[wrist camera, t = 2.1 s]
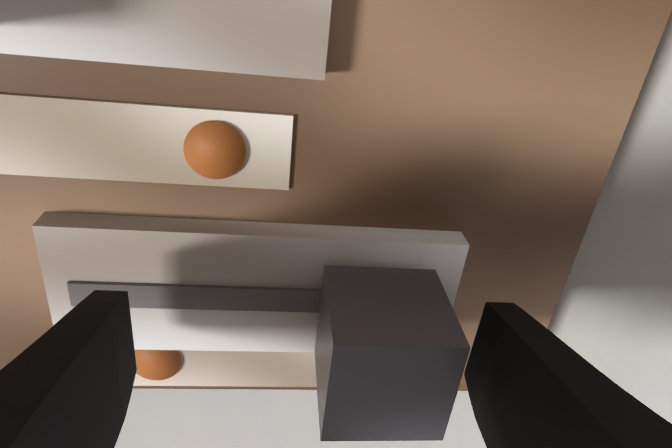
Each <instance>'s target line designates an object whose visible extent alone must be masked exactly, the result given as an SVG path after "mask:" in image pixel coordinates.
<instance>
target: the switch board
mask: <svg viewBox="0 0 672 448" xmlns="http://www.w3.org/2000/svg"><path fill="white" fill-rule="evenodd" d="M671 11H672V0H0V370H1V369H2V368H3V367H5V366H6V365H7V364H8V363H10V362H11V361H12V360H13V359H14V358H16V357H17V356H18V355H19V354H20V353H22V352H23V351H24V350H25V349H26V348H28V347H29V346H30V345H31V344H32V343H33V342H35V341H36V340H37V339H38V338H39V337H41V336H42V335H43V334H44V333H45V332H46V331H48V330H49V329H50V328H51V327H52V326H53V325H54V324H56V323H57V322H58V321H59V320H60V319H61V318H62V317H64V316H65V315H66V314H67V313H68V312H69V311H70V310H72V309H73V308H74V307H75V306H76V305H77V304H79V303H80V302H81V301H82V300H83V299H85V298H86V297H87V296H88V295H89V294H91V293H92V292H93V291H94V290H110V291H128V297H129V306H130V315H131V323H132V332H133V341H134V349H135V358H136V367H137V371H136V375H135V380H134V384H133V388H160V389H302V390H317V381H316V367H315V353H314V351H315V342H316V333H317V324H318V315H319V305H320V296H321V287H322V278H323V269H324V265H331V266H358V267H384V268H411V269H435V270H436V272H437V274H438V276H439V279H440V281H441V283H442V285H443V288H444V290H445V292H446V294H447V296H448V299H449V301H450V303H451V305H452V308H453V310H454V312H455V314H456V316H457V319H458V321H459V323H460V325H461V327H462V330H463V332H464V334H465V336H466V339H467V341H468V343H469V345H470V347H471V348H472V345H473V342H474V339H475V335H476V332H477V329H478V326H479V322H480V319H481V316H482V313H483V309H484V306H485V303H486V302H509V303H515V304H516V305H517V306H519V307H520V308H522V309H523V310H524V311H526V312H527V313H528V314H529V315H531V316H532V317H533V318H535V319H536V320H537V321H538V322H539V323H541V324H542V325H543V326H544V327H546V328H548V326H549V323H550V321H551V318H552V315H553V313H554V310H555V308H556V305H557V303H558V300H559V297H560V295H561V292H562V290H563V287H564V285H565V282H566V280H567V277H568V274H569V272H570V269H571V267H572V264H573V262H574V259H575V257H576V254H577V251H578V249H579V246H580V244H581V241H582V239H583V236H584V234H585V231H586V228H587V226H588V223H589V221H590V218H591V216H592V213H593V211H594V208H595V205H596V203H597V200H598V198H599V195H600V193H601V190H602V188H603V185H604V182H605V180H606V177H607V175H608V172H609V170H610V167H611V165H612V162H613V159H614V157H615V154H616V152H617V149H618V147H619V144H620V141H621V139H622V136H623V134H624V131H625V129H626V126H627V124H628V121H629V118H630V116H631V113H632V111H633V108H634V106H635V103H636V101H637V98H638V95H639V93H640V90H641V88H642V85H643V83H644V80H645V78H646V75H647V72H648V70H649V67H650V65H651V62H652V60H653V57H654V55H655V52H656V49H657V47H658V44H659V42H660V39H661V37H662V34H663V32H664V29H665V26H666V24H667V21H668V19H669V16H670V14H671ZM470 352H471V349H470ZM470 352H469V355H470ZM469 355H468V358H469ZM468 358H467V361H468ZM466 365H467V362H466ZM466 365H465V368H466ZM465 368H464V371H465ZM458 391H468V388H467V384H466V380H465V376H464V372H463V375H462V378H461V381H460V385H459V388H458Z"/></svg>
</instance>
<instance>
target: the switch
mask: <svg viewBox="0 0 672 448" xmlns="http://www.w3.org/2000/svg"><path fill="white" fill-rule="evenodd" d="M470 349H471V347H470V345H469V343H468V341H467V339H466V336H465V334H464V332H463V330H462V327H461V325H460V323H459V321H458V319H457V316H456V314H455V312H454V310H453V308H452V305H451V303H450V301H449V299H448V296H447V294H446V292H445V290H444V288H443V285H442V283H441V281H440V279H439V276H438V274H437V272H436V270H435V269H411V268H384V267H358V266H331V265H324V269H323V278H322V287H321V296H320V305H319V315H318V324H317V333H316V342H315V351H314V353H315V367H316V381H317V396H318V410H319V424H320V439H321V441H413V440H443V437H444V434H445V431H446V427H447V424H448V421H449V418H450V414H451V411H452V408H453V404H454V401H455V398H456V395H457V391H458V388H459V385H460V381H461V378H462V375H463V372H464V368H465V365H466V362H467V358H468V355H469V352H470Z"/></svg>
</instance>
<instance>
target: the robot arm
mask: <svg viewBox="0 0 672 448" xmlns="http://www.w3.org/2000/svg"><path fill="white" fill-rule="evenodd" d="M136 371H137V367H136V358H135V349H134V341H133V332H132V323H131V315H130V306H129V297H128V291H110V290H94V291H93V292H92V293H91V294H89V295H88V296H87V297H86V298H85V299H83V300H82V301H81V302H80V303H79V304H77V305H76V306H75V307H74V308H73V309H72V310H70V311H69V312H68V313H67V314H66V315H65V316H64V317H62V318H61V319H60V320H59V321H58V322H57V323H56V324H54V325H53V326H52V327H51V328H50V329H49V330H48V331H46V332H45V333H44V334H43V335H42V336H41V337H39V338H38V339H37V340H36V341H35V342H33V343H32V344H31V345H30V346H29V347H28V348H26V349H25V350H24V351H23V352H22V353H20V354H19V355H18V356H17V357H16V358H14V359H13V360H12V361H11V362H10V363H8V364H7V365H6V366H5V367H3V368H2V369H1V370H0V448H114V447H115V444H116V441H117V439H118V436H119V433H120V431H121V428H122V425H123V422H124V420H125V416H126V412H127V408H128V404H129V401H130V397H131V392H132V388H133V384H134V380H135V375H136ZM464 376H465V380H466V384H467V388H468V393H469V397H470V400H471V404H472V408H473V411H474V415H475V418H476V421H477V424H478V426H479V429H480V432H481V434H482V437H483V439H484V442H485V444H486V447H487V448H672V424H671V423H669V422H668V421H666V420H665V419H664V418H662V417H661V416H659V415H658V414H656V413H655V412H654V411H652V410H651V409H649V408H648V407H647V406H645V405H644V404H643V403H641V402H640V401H638V400H637V399H636V398H634V397H633V396H632V395H630V394H629V393H628V392H626V391H625V390H623V389H622V388H621V387H619V386H618V385H617V384H616V383H614V382H613V381H612V380H610V379H609V378H608V377H606V376H605V375H604V374H603V373H601V372H600V371H599V370H597V369H596V368H595V367H594V366H592V365H591V364H590V363H589V362H587V361H586V360H585V359H584V358H582V357H581V356H580V355H579V354H577V353H576V352H575V351H574V350H573V349H571V348H570V347H569V346H568V345H566V344H565V343H564V342H563V341H562V340H560V339H559V338H558V337H557V336H555V335H554V334H553V333H552V332H551V331H549V330H548V329H547V328H546V327H544V326H543V325H542V324H541V323H539V322H538V321H537V320H536V319H535V318H533V317H532V316H531V315H529V314H528V313H527V312H526V311H524V310H523V309H522V308H520V307H519V306H517V305H516V304H515V303H509V302H486V303H485V306H484V309H483V313H482V316H481V319H480V322H479V326H478V329H477V332H476V335H475V339H474V342H473V345H472V348H471V352H470V355H469V358H468V361H467V365H466V368H465V371H464Z"/></svg>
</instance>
